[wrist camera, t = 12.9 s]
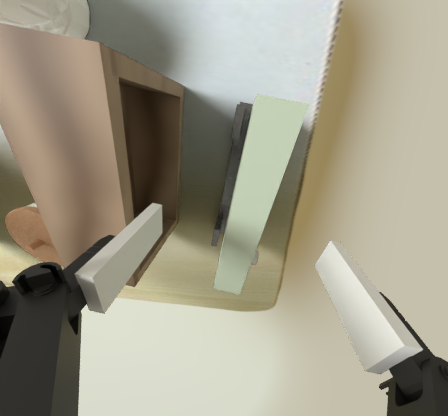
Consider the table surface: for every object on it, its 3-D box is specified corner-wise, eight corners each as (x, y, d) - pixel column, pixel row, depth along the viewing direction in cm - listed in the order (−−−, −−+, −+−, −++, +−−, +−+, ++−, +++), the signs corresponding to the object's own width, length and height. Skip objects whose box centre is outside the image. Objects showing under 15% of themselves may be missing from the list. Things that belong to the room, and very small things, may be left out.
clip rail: (216, 228, 29) (211, 247, 25) (240, 102, 20) (238, 98, 15) (250, 235, 29) (250, 256, 25) (290, 112, 20) (302, 110, 15)
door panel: (252, 106, 19) (257, 94, 9) (288, 113, 19) (330, 108, 9) (224, 229, 28) (212, 288, 18) (249, 235, 28) (250, 297, 18)
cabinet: (135, 212, 30) (65, 270, 18) (120, 73, 20) (-49, 13, 9) (178, 222, 29) (134, 286, 18) (184, 86, 20) (99, 42, 8)
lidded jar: (122, 216, 31) (77, 252, 22) (100, 245, 35) (55, 283, 27) (67, 176, 28) (-8, 199, 20) (51, 212, 32) (-16, 244, 24)
